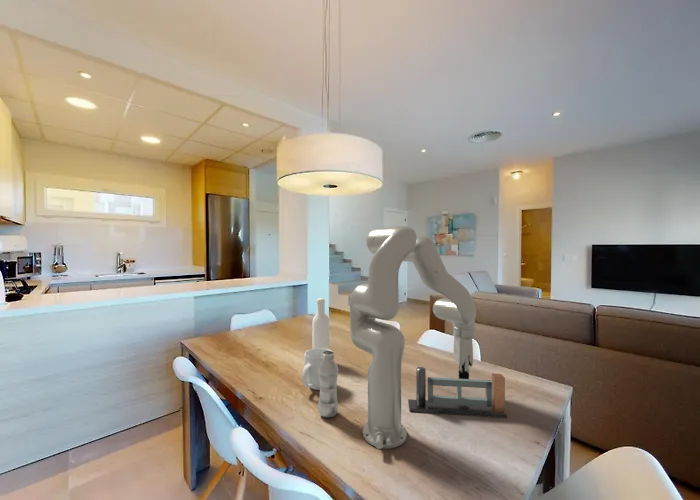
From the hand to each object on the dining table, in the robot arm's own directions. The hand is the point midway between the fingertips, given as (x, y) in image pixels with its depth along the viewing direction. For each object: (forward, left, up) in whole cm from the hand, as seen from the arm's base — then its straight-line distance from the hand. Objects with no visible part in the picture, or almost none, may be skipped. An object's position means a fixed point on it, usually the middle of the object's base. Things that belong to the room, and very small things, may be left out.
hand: (463, 382), depth 107 cm
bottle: (+24, +58, -5) cm, 63 cm away
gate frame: (-10, +5, -5) cm, 12 cm away
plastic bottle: (-18, +46, -5) cm, 50 cm away
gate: (-10, +4, -3) cm, 11 cm away
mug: (0, +54, -5) cm, 55 cm away
